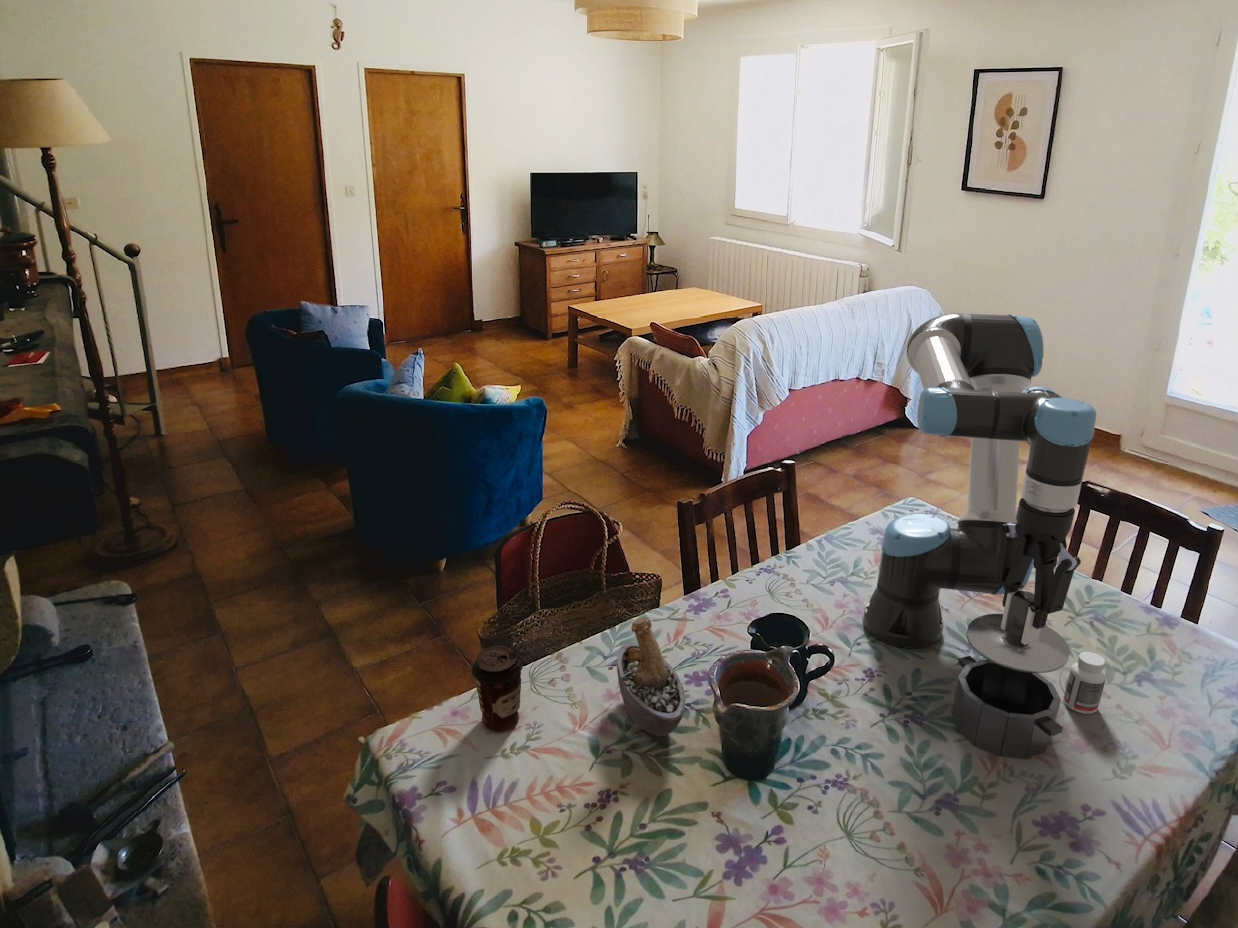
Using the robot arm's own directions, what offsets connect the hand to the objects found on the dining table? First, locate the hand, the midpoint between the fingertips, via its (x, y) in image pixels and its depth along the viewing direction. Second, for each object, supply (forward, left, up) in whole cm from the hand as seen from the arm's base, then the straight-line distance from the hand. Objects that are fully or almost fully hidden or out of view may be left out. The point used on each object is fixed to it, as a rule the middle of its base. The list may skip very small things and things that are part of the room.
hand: (1019, 634), depth 135 cm
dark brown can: (-33, -77, -19) cm, 86 cm away
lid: (0, 0, -3) cm, 3 cm away
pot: (0, 0, -19) cm, 19 cm away
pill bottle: (+1, +17, -19) cm, 25 cm away
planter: (-24, -54, -19) cm, 62 cm away
